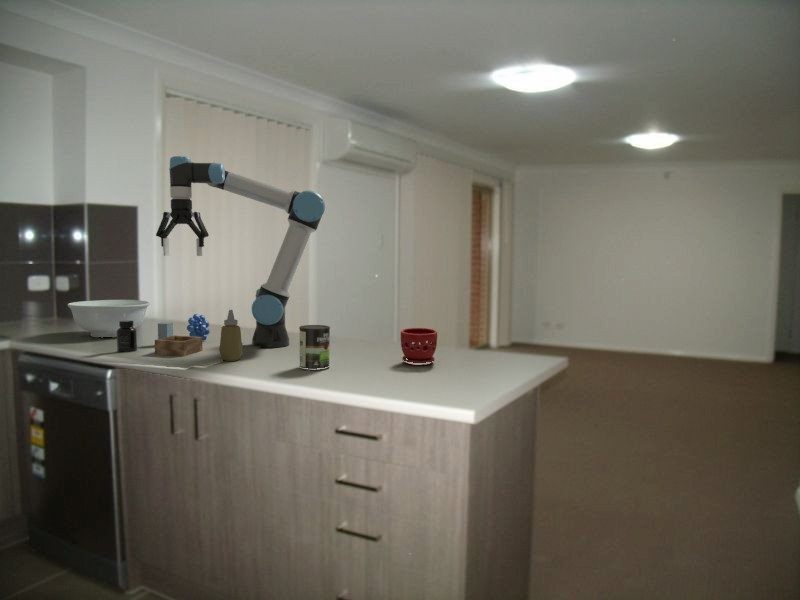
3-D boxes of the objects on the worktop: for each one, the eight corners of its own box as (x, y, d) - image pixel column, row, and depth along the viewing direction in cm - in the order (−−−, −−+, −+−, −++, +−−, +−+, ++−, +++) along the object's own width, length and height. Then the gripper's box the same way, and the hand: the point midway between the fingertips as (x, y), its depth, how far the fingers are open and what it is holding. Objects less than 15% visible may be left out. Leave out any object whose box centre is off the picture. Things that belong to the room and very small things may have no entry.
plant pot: (394, 361, 224) (394, 328, 223) (427, 359, 229) (427, 327, 228) (408, 368, 212) (409, 333, 211) (443, 365, 217) (443, 332, 216)
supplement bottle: (141, 352, 233) (140, 320, 231) (126, 355, 226) (125, 322, 225) (128, 350, 235) (127, 319, 234) (112, 353, 229) (112, 321, 228)
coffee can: (335, 367, 212) (336, 326, 210) (316, 372, 203) (316, 329, 201) (312, 363, 217) (312, 323, 216) (292, 368, 208) (292, 326, 207)
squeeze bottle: (221, 362, 215) (221, 311, 214) (217, 358, 222) (216, 309, 221) (245, 361, 219) (244, 310, 217) (239, 357, 226) (239, 308, 224)
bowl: (124, 328, 293) (124, 297, 292) (165, 335, 275) (164, 302, 273) (54, 335, 267) (53, 302, 266) (93, 344, 249) (92, 307, 247)
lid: (189, 346, 249) (189, 321, 248) (171, 351, 236) (170, 325, 235) (160, 344, 252) (160, 320, 251) (140, 349, 239) (140, 324, 238)
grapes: (195, 344, 250) (194, 315, 249) (183, 343, 254) (183, 314, 253) (216, 341, 260) (216, 312, 259) (205, 339, 264) (204, 311, 263)
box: (202, 352, 233) (202, 337, 233) (184, 358, 222) (183, 341, 221) (174, 350, 236) (174, 335, 236) (154, 356, 225) (154, 340, 224)
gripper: (216, 199, 232) (218, 255, 234) (156, 199, 237) (158, 255, 239) (207, 197, 225) (208, 256, 227) (145, 198, 229) (147, 255, 231)
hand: (182, 255), depth 233 cm, fingers open, 13 cm apart
